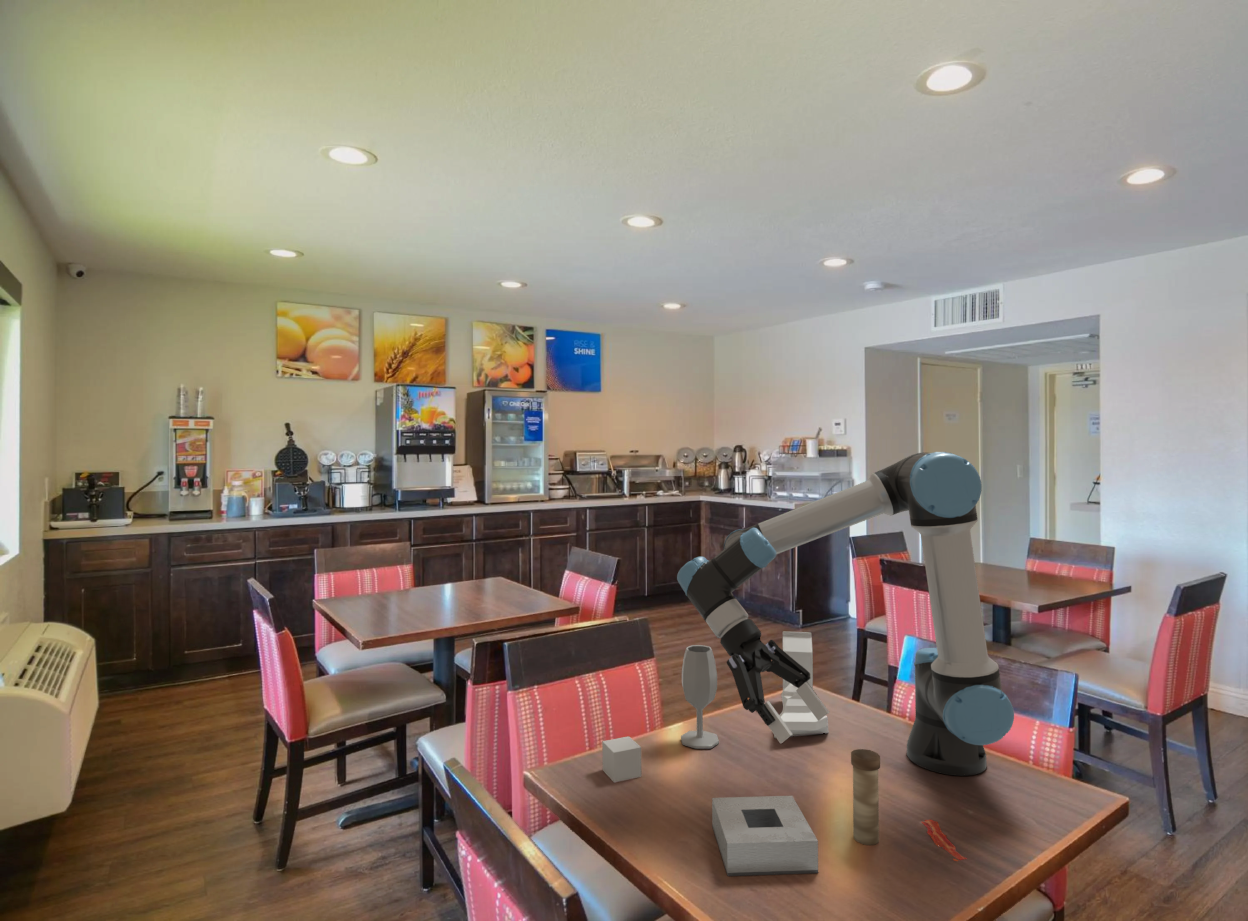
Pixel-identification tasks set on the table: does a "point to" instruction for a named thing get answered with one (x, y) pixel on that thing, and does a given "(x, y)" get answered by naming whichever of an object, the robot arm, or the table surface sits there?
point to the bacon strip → (941, 838)
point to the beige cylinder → (865, 796)
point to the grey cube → (621, 759)
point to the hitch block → (763, 836)
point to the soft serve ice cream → (800, 715)
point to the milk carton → (799, 651)
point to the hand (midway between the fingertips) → (806, 727)
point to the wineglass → (699, 692)
